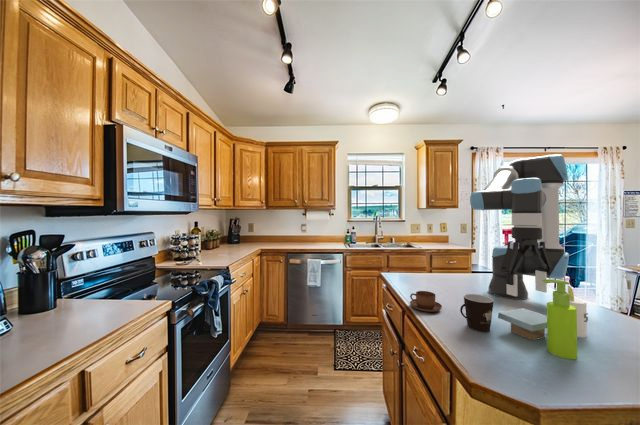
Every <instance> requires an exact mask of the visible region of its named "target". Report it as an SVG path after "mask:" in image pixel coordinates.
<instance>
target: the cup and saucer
mask: <svg viewBox="0 0 640 425" xmlns="http://www.w3.org/2000/svg"><path fill="white" fill-rule="evenodd" d="M413 296H415V299H414V298H413ZM409 298H410V301H409V304H410V305H411V307H412V308H414V309H416V310H418V311H422V312H427V313H432V312H433V313H435V312H439V311H441V310H442V307H443V306H442V304H441V303H439V302H437V301H436V294H435V293H434V292H431V291H427V290H418V291H416V292H415V293H410V296H409Z"/></svg>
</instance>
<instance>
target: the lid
mask: <svg viewBox="0 0 640 425" xmlns="http://www.w3.org/2000/svg"><path fill="white" fill-rule="evenodd" d="M497 316H498V317H497V318H498V319H500V320H502V321H505V322H508V323H510V324H511V323H512V324H515V325H517V326H520V327H522V328H525V329H527V330H530V331H537V330H542V329H545V330H547V314H542V313H540V312H536V311H533V310H531V309H527V308H524V307H522V308H515V309H511V310H505V311H498V312H497Z"/></svg>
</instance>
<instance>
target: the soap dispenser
mask: <svg viewBox="0 0 640 425" xmlns="http://www.w3.org/2000/svg"><path fill="white" fill-rule="evenodd" d="M542 281H543V282H545V283H547V284H556V290H553V291H552V301H548V302H546V316H547V328H546V330H547V331H546V339H547V342H546V343H547V347H546V348H547V351H548V352H549V353H550V352H551V354H552V355H554V356H556V357H560V358H561V359H567V360H576V359H578V337H577V308H576V307H574V306H571V305H570V294H569V293H568V292H567V291H566V285H567V286H570V282H569V281H566V280H563V279H549V278H547V279H546V280H542Z"/></svg>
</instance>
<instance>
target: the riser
mask: <svg viewBox="0 0 640 425" xmlns="http://www.w3.org/2000/svg"><path fill="white" fill-rule="evenodd" d="M545 330H546V329H542V330H537V331H530V330H527V329H525V328H522V327H520V326H517V325H515V324H512V323H510V331H511V333H514V334H517V335H519V336H521V337H524V338H526V339H528V340H530V339H531V341H534V339H535V340H538V338H539V339H543V338H546V332H545Z"/></svg>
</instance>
